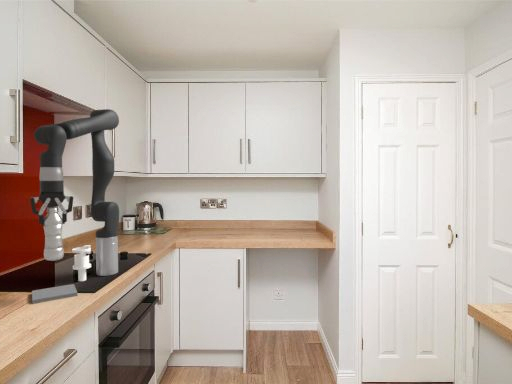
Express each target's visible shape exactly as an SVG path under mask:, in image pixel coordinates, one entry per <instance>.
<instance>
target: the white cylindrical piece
mask: <svg viewBox="0 0 512 384" xmlns="http://www.w3.org/2000/svg"><path fill="white" fill-rule="evenodd" d="M91 247H92V245H91V244H88V245H87V244H85V245H83V246H78V247H74V248H72V250H71V252H72V253H74V255H73V256H74V264H73V265H72V270H76V271H77V274H78V275H77V276H78V277H77V279H78V280H77V281H78V282H85V281H87V269H90V268H92V263H90V254H92V250H91V249H92V248H91ZM87 254H88V255H87Z"/></svg>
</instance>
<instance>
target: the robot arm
mask: <svg viewBox="0 0 512 384" xmlns="http://www.w3.org/2000/svg"><path fill="white" fill-rule="evenodd" d="M119 125H120V120H119V115H118V113H117V112H116V111H115V110H113V109H109V108H107V109H96V110H95V109H94V110H92V111H91V112H90V115H89V117H80V118H73V119H69V120H66V121H62V122H59V123H52V124H46V125H45V124H44V125H41V126H39V127H37V128H36V129H35V131H34V133H33V137H34V140H35V141H36V142H37V143H38V144H40V145H43V146H48V147H47V149H46V150H45V151H42V152H41V153H40V155H39V167H40V168H39V195H38V196H35V197H33V196H31V197H30V199H29V200H30V205H31V206H30V207H31V212H32V214H34V215H38V223H39V225H41V226H43V225H44V223H43V220H44V212H45V211H46V210H47V207H58V209H59V210H60V211H61V212H62V214H61V218H62V220H63V225H65V223H66V222H68V213H72V211H73V206H74V205H73V204H74V196H72V195H70V196H68V195H65V187H64V179H65V177H64V171H63V170H64V169H63V155H64V151H65V148H66V145H67V140H73V139H76V138H79V137H80V138H81V136H85V135H88V134H90V135H91V147H92V148H91V150H92V153H91V154H92V160H91V167H92V168H91V170H92V193H91V201H90V202H91V204H90V215H91V216H90V217H91V218H92V220H93V221H94V222H104V226H103V227H102V228H100V229H98V230H96V231H95V258H96V259H95V260H96V261H95V262H96V266H95V267H96V275H97V276H101V277H102V276H103V277H104V276H105V277H106V276H112V275H116V274H117V273H119V248H118V246H119V245H118V244H119V242H118V240H119V239H118V232H119V230H120V229H119V227H120V207H119V205H118V203H117V202H115V201H105V199H106V191H107V188H108V186H109V185H110V183H111V181H112V179H113V178H114V175H115V158H114V155H113V153H112V152H111V150H110V149H109V147H108V145H107V142H106V139H105V138H106V137H105V131H111V130H115V129H116V128H117V127H118V126H119ZM38 200H39V201H40V202H41V203H42V205H41V207H40V209H39V210H37V207H36V204H37V203H38ZM64 200H66V202H67V205H68V206H67V209H65V207H64V205H63V204H62V203H63V202H64Z"/></svg>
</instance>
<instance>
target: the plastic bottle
mask: <svg viewBox="0 0 512 384" xmlns="http://www.w3.org/2000/svg"><path fill="white" fill-rule="evenodd" d="M59 212H60V211H59V206H58V207H54V206H52V207H46V213H47V214H46V215H45V216H44V217H43V223H44V225H42V226H43V231H44V236H45V237H44V249H43V257H44V258H43V259H45V261H51V262H52V261H53V262H54V261H58V260H61V259H63V258H64V255H65V249H64V246H63V237H62V236H63V235H62V234H63V226H64V224H63V220H62V215H60V214H59Z"/></svg>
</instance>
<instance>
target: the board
mask: <svg viewBox="0 0 512 384" xmlns="http://www.w3.org/2000/svg"><path fill="white" fill-rule="evenodd" d="M77 296H78V291H77V288H76V286H75V284H74V283H72V284H66V285H65V284H64V285H60V286H53V287H47V288H41V289H35V290H32V291H31V301H32V304H38V303H43V302H45V303H46V302H49V301H54V300H55V301H56V300H60V299H66V298H70V297H77Z"/></svg>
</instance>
